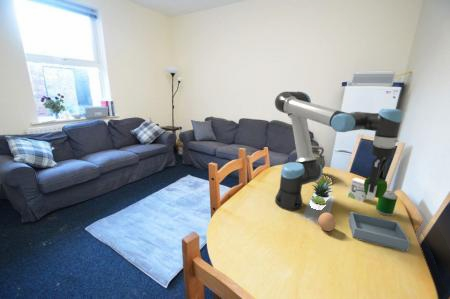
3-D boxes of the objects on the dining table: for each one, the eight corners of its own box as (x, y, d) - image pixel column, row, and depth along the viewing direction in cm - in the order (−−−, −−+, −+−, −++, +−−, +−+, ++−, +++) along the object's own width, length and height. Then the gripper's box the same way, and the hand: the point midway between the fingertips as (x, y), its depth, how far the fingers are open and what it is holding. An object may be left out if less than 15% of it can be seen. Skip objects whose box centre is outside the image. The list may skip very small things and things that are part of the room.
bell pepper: (382, 202, 87) (387, 180, 85) (359, 195, 93) (363, 174, 91) (386, 196, 93) (391, 175, 90) (365, 190, 99) (369, 170, 96)
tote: (352, 237, 93) (355, 228, 92) (348, 219, 106) (350, 211, 105) (407, 251, 86) (410, 242, 85) (395, 230, 99) (398, 222, 97)
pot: (320, 182, 148) (326, 149, 141) (291, 175, 159) (295, 143, 152) (324, 173, 165) (330, 143, 158) (298, 167, 175) (302, 138, 168)
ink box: (347, 196, 130) (351, 179, 126) (350, 194, 133) (354, 177, 129) (363, 202, 123) (367, 184, 120) (366, 199, 126) (370, 182, 123)
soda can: (395, 217, 109) (401, 197, 106) (379, 215, 111) (385, 195, 107) (387, 209, 116) (393, 190, 113) (372, 208, 118) (377, 188, 114)
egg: (336, 235, 94) (339, 219, 92) (319, 233, 96) (322, 217, 93) (331, 225, 101) (334, 210, 99) (315, 223, 102) (318, 208, 100)
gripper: (388, 152, 78) (376, 206, 84) (400, 144, 91) (389, 191, 97) (365, 148, 83) (355, 199, 89) (379, 141, 97) (370, 186, 103)
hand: (373, 195), depth 93 cm, fingers closed on bell pepper, 8 cm apart
